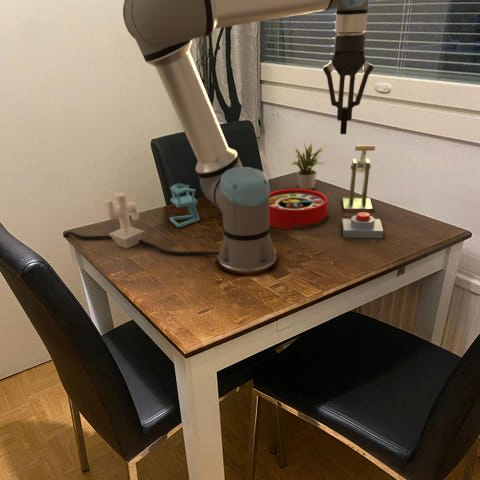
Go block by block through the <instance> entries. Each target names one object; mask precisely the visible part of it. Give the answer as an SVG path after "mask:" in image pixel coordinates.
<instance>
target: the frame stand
mask: <svg viewBox="0 0 480 480" xmlns="http://www.w3.org/2000/svg"><path fill="white" fill-rule="evenodd" d="M364 161H365V169H364V172H363V180H362V181H363V182H362V191H361V197H355V187H356V176H357V162H358V161H357V159H356V158H352V162H351V164H350V170H351V175H350V186H349V197H342V204H343V209H350V210H351V209H352V210H353V209H356V210H357V209H359V210H361V209H364V210H365V209H366V210H368V209H369V210H372V209H373V205H372V201H371V198H370V197H368V196H367V195H368V187H369V185H368V184H369V177H370V176H369V175H370V170H371V168H372V164H371V162H370V159H369V158H365V160H364Z"/></svg>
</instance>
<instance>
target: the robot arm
mask: <svg viewBox="0 0 480 480" xmlns="http://www.w3.org/2000/svg"><path fill="white" fill-rule="evenodd" d="M368 9H369V0H124V1H123V5H122V16H123V17H122V18H123V22H124V25H125V28H126V29H127V32H128V33H129V34H130V36H131V37H132V38H133V39H134V40H135V42H136V44H137V46H138V48H139V50H140V53H141V55H142V57H143V59H144V61H145V63H146V64H149V65H151V66H153V67H154V68H155V70H156V71H157V74H158V77H159V78H160V80H161V83H162V85H163V87H164V89H165V91H166V94H167V96H168V98H169V100H170V102H171V105H172V107H173V109H174V111H175V113H176V115H177V118H178V120H179V123H180V125H181V127H182V129H183V131H184V133H185V135H186V137H187V140H188V142H189V144H190V146H191V149H192V151H193V153H194V156H195V157H196V160H197V163H196V166H195V172H196V174H197V176H198V178H199V185H200V188H201V192H202V193H203V195H204V197H205V198H206V200H207V201H209V202H210V203H212V204H213V205H214V206H215V207H216V208H217V209H218V210H219V211H220V212H221V213H222V227H223V238H222V241H221V245H220V248H219V251H210V250H209V251H208V250H207V251H201V250H200V251H197V250H196V251H195V250H194V251H193V250H192V251H189V250H188V251H176V250H168V249H165V248H162V247H160V246H158V245H156V244H153V243H151V242H149V241H146V240H143V239H141V240H139V244H141V245H144V246H147V247H150V248H152V249H155V250H156V251H159V252H161V253H164V254H167V255H174V256H188V255H189V256H200V255H201V256H217V259H218V267H219V268H220V269H221V270H222V271H224V272H226V273H228V274H232V275H238V276H253V275H259V274H263V273H266V272H269V271H271V270H272V269H273V268H274V267H276V264H277V251H276V248H275V245H274V243H273V240H272V238H271V235H270V225H269V195H270V193H271V187H270V183H269V182H270V181H269V178H268V176H267V174H266V173H265V172H263V170H261V169H258V168H252V167H250V166H243V164H242V162H241V159H240V157H239V154H238V152H237V150H236V149H234V148H231V147H229V145H228V141H227V139H226V138H225V135H224V133H223V130H222V128H221V125H220V123H219V119H218V118H217V115H216V113H215V110H214V107H213V106H212V103H211V101H210V97H209V96H208V93H207V90H206V88H205V86H204V83H203V81H202V79H201V76H200V73H199V71H198V68H197V66H196V63H195V61H194V58H193V55H192V53H191V46H192V43H193V40H194V39H199V38H203V37H209V36H212V35H213V33H214V32H215V30H216V29H221V28H228V27H234V26H240V25H245V24H251V23H257V22H263V21H269V20H276V19H282V18H288V17H295V16H299V15H300V16H301V15H305V14H312V13H316V12H322V11H323V12H324V11H331V10H336V12H335V29H334V32H335V33H336V34H337V35H335V37H334V45H333V46H334V47H333V56H332V58H331V61H330V62H329V63H327V64H326V65H324V66H323V67H322V70H323V72H324V74H325V76H326V80H327V86H328V92H329V99H330V103H331V104H330V105H331V106H332V107H336V108H337V112H336V113H337V115H336V120H337V121H338V122H340V129H339V130H340V131H339V132H340V135H347V129H348V122H349V121H352V118H353V108H354V107H356V106H359V105H360V104H361V101H362V98H363V95H364V91H365V88H366V86H367V82H368V80H369V79H368V78H369V76H370V74H371V73H372V71H373V70H374V65H373V64H371V63H369V62H368V61H366V59H367V58H366V56H365V47H366V35H365V34H364V33H366V32H367V26H368V25H367V24H368ZM333 67H334V69H335V72H336V73H337V74H338V75H339V80H338V81H339V82H338V98H337V100H336V93H335V88H334V82H333V76H332V73H333ZM362 67H363V68H362ZM361 69H362V70H363V73H362V76H361V79H360V83H359V85H358V89H357V92H356V95H355V98H354V94H355V83H356V82H355V80H356V75H358V73H359V71H360V70H361ZM346 76H349V80H348V94H347V106H344V95H345V94H344V93H345V81H346ZM68 236H73V237H75V238H78V239H82V240H101V239H102V240H103V239H108V240H109V239H110V240H113V239H112V237H111V236H110V235H83V234H82V235H81V234H79V233H76V232H74V231H67V232H65V233H64V234H63V236H62V237H63V238H66V237H68Z"/></svg>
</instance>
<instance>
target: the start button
mask: <svg viewBox="0 0 480 480" xmlns="http://www.w3.org/2000/svg"><path fill="white" fill-rule="evenodd" d="M356 215H357V219H356V220H358V221H369V218H370V216H371V214H370V212H366V211H360V212H357V213H356Z"/></svg>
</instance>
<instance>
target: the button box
mask: <svg viewBox="0 0 480 480" xmlns="http://www.w3.org/2000/svg"><path fill="white" fill-rule="evenodd" d="M356 219H357V214H356V215H353V216H351V218H342V219H341V224H342V238H350V239H351V238H354V239H355V238H359V239H383V238H384V228H383V225H382V221H381V218H375V217H373V216H371V215H370V218H369V221H358V220H356Z"/></svg>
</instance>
